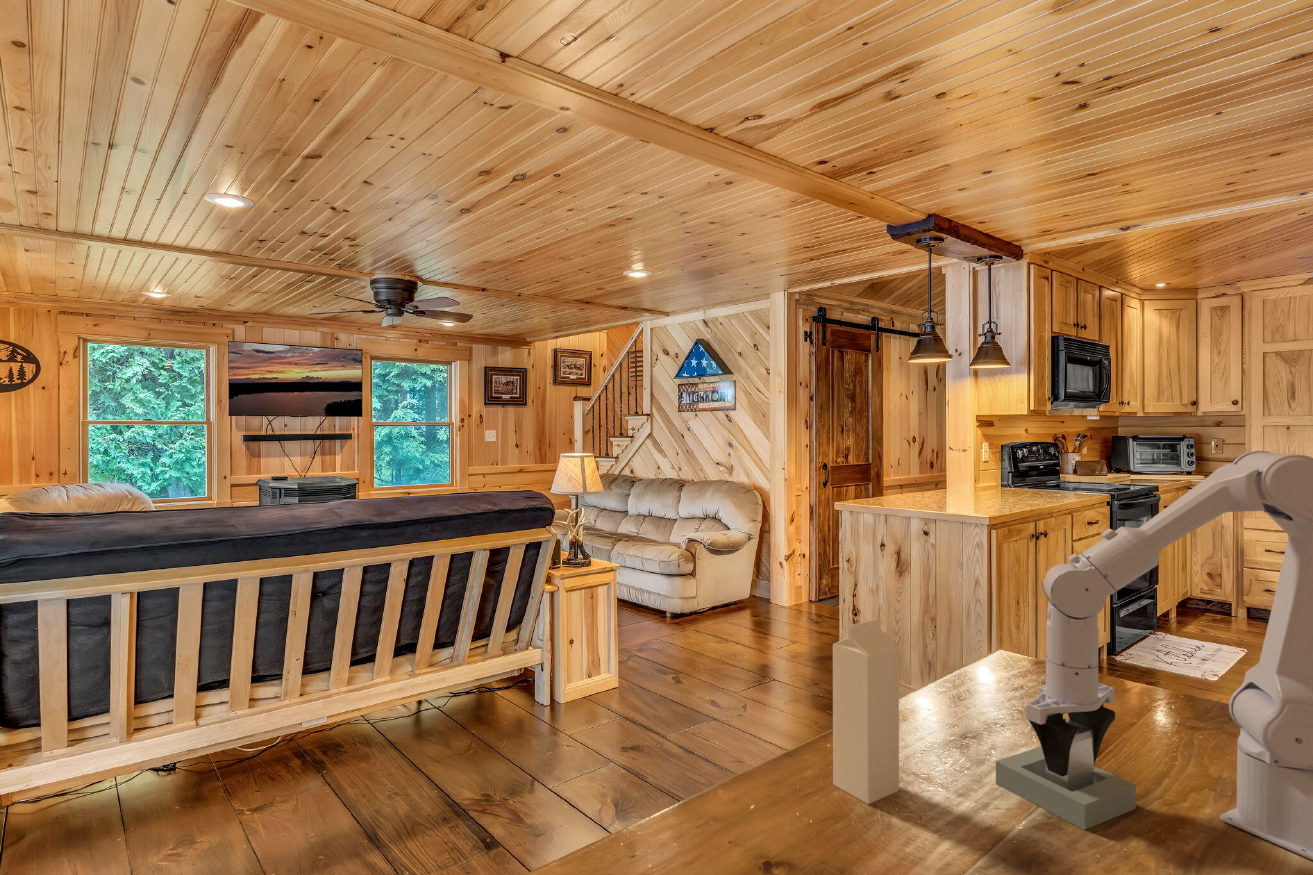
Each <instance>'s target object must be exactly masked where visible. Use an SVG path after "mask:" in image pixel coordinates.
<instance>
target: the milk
mask: <svg viewBox="0 0 1313 875" xmlns="http://www.w3.org/2000/svg"><path fill="white" fill-rule="evenodd" d="M899 648H900V647H898V645H897V644H896V643H895V642H894V641H893V640H892V639H891V638H890V637H889V636H888V635H887V634H886V633H885V632H884V630H882V620H881V618H874V619H872V620H871V619H870V620H867V621H862V622H859V623H854V624H851V625H850V626H849V637H846V638H844V639H841V640H839V641H837V642H835V643H833V644H832V760H833V761H832V765H833V766H832V768H833V770H832V775H833V776H832V777H833V778H832V780H833V782H832V784H833V786H835V787H837V788H838V789H840V790H843V791H844V792H846V793H847V794H848V795H851V796H852V797H853V798H856V799H858V800H860V801H861V802H863V803H865V804H867V805H870V804H873V803H874V802H877V801H879V800H881V799H883V798H886V797H888V796H890V795H894V794H895V793H897V792H899V791H900V728H899V727H900V649H899Z"/></svg>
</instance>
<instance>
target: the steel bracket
mask: <svg viewBox="0 0 1313 875" xmlns="http://www.w3.org/2000/svg"><path fill="white" fill-rule="evenodd" d="M1063 719H1066V722H1067V723H1069V724H1072V725H1074V726H1077V727H1079V729H1078V731H1077V733H1076V734H1075V736H1074V739H1073V742H1072V745H1071V749H1070V755H1069V765H1068V770H1067V773H1066V776H1060V775H1058V774H1056V773H1053V772H1051V771H1049V770H1048V769H1047V765H1046V779H1047V780H1049V781H1051V782H1053V783H1055V784H1057V785H1059V786H1061V787H1063V788H1065V789H1067V790H1069V791H1072V792H1073V791H1076V790H1079V789H1081V788H1084V787H1087V786H1089V785H1092V784H1094V767H1095V764H1094V729H1091V728H1089V727H1086V726H1084V725H1081V724H1078V723H1076V722H1073V721H1071V720H1070V719H1069V718H1066V717H1063ZM1030 726H1031V728H1030V731H1032V732H1035V730H1034V728H1033V726H1032V725H1031V724H1030Z"/></svg>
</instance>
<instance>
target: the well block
mask: <svg viewBox="0 0 1313 875" xmlns="http://www.w3.org/2000/svg"><path fill="white" fill-rule="evenodd" d="M995 784H996V785H998V786H1000V787H1001V788H1004V789H1006V790H1007V791H1009V792H1011V793H1013V794H1015V795H1017V796H1019V797H1021V798H1023V799H1024V800H1026V801H1029V802H1030V803H1032V804H1034V805H1035V806H1038V807H1039V808H1042V809H1044V810H1045V811H1048V812H1050V813H1051V814H1053V815H1055V816H1057V817H1059V818H1060V819H1062V820H1064V821H1066V822H1068V823H1071V824H1072V825H1073V826H1075V827H1078V828H1079V829H1082V830H1084V831H1086V830H1088V829H1091V828H1093V827H1095V826H1098V825H1101V824H1102V823H1105V822H1107V821H1109V820H1112V819H1115V818H1117V817H1119V816H1121V815H1124V814H1126V813H1129V812H1131V811H1133V810H1136V809H1137V808H1136V806H1137V804H1136V802H1137V796H1136V795H1137V785H1136V784H1135V783H1133V782H1130V781H1129V780H1126V779H1124V778H1121V777H1119V776H1117V775H1114V774H1112V773H1110V772H1108V771H1105V770H1103V769H1101V768H1099V767H1097V766H1094V784H1092V785H1089V786H1087V787H1084V788H1081V789H1079V790H1076V791H1073V792H1072V791H1069V790H1067V789H1065V788H1063V787H1061V786H1059V785H1057V784H1055V783H1053V782H1051V781H1049V780H1047V779H1046V761H1045V757H1044V754H1043V750H1042V747H1041V746H1038V747H1035V748H1032V749H1029V750H1026V751H1022V752H1019V753H1017V754H1014V755H1013V754H1012V755H1010V756H1007V757H1004V758H1001V759H998V760H995Z"/></svg>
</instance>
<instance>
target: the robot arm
mask: <svg viewBox="0 0 1313 875" xmlns="http://www.w3.org/2000/svg"><path fill="white" fill-rule="evenodd" d="M1261 511H1264V512H1265V513H1266V514H1267V515H1268V516H1269V517H1270V518H1271V519H1272V520H1273V521H1274V522H1275V523H1276V524H1277V525H1278V526H1279V527H1280V528H1281V529H1282V530H1283V531H1284V532H1285V533H1286V534H1287V537H1288V538H1287V542H1286V546H1285V552H1284V555H1283V559H1282V563H1281V566H1280V567H1281V568H1280V571H1279V572H1280V573H1279V576H1278V582H1277V585H1276V589H1275V594H1274V598H1273V602H1272V606H1271V609H1270V616H1269V619H1268V624H1267V627H1266V632H1265V636H1264V641H1263V645H1262V650H1261V652H1260V658H1259V661H1258V663H1257V664H1256V665H1254V666H1252V667H1251V668H1249V669H1248V670H1246V672H1245V675H1244V679H1243V682H1242V684H1241V685H1240V686H1239V688H1237V689H1236V690H1235V691H1234V692H1233V694H1232V695H1231V696H1230V699H1229V702H1228V708H1229V710H1228V711H1229V713H1230V716H1231V718H1232V720H1233V721H1234V722H1235V724H1237V726H1238V727H1240V730H1239V731H1240V733H1239V736H1238V738H1237V742H1236V743H1237V744H1236V745H1237V751H1236V753H1237V756H1236V758H1237V759H1236V761H1237V762H1236V763H1237V764H1236V806H1235V808H1232V809H1230V810H1228V811H1226V812H1223V813H1222V814H1220V815H1219V819H1220V820H1221V821H1222V822H1225V823H1228V824H1229V825H1231V826H1234V827H1235V828H1238V829H1241V830H1244V831H1245V832H1247V833H1250V834H1252V835H1255V836H1257V837H1259V838H1261V839H1263V840H1265V841H1266V840H1267V841H1268V842H1270V843H1273V844H1275V845H1278V846H1280V847H1282V848H1284V849H1287V850H1289V851H1291V852H1294V853H1295V854H1297V855H1300V856H1303V857H1305V858H1307V859H1310V860H1311V861H1313V457H1312V456H1308V455H1304V454H1294V453H1293V454H1283V453H1273V452H1270V451H1266V450H1253V451H1249V452H1246V453H1243V454H1241V455H1240V456H1237V458H1236V459H1235V460H1234V461H1233V462H1231V463H1226V464H1224V465H1223V466H1220V467H1218V468H1217V469H1215V470H1214V472H1212V473H1211V474H1210V475H1208V476H1207V477H1206V478H1204V480H1202V481H1201V482H1199V483H1198V484H1197V485H1195V486H1194V487H1193V488H1191V489H1190V490H1189V491H1187V492H1186V493H1185V494H1183V495H1181V496H1180V497H1179V498H1177V499H1176V500H1175V501H1173V502H1172V503H1171V504H1169V505H1168V506H1167V507H1166V508H1164V509H1163V510H1161V511H1160V512H1159V513H1157V514H1156V515H1154V516H1153V517H1152V518H1151V519H1149V520H1147V521H1146V522H1145V523H1143V524H1142V525H1141V526H1140V527H1131V526H1130V527H1129V526H1120V527H1118V528H1117V529H1116V530H1113V529H1111V528H1108V529H1106V530H1103V532H1101V534H1100V535H1101V537H1102V539H1101V540H1099V541H1098V542H1096V543H1095V544H1093V545H1091V546H1090V547H1088V548H1087V549H1085V550H1083V552H1081V553H1079V554H1078V555H1077V554H1076V553H1072V554H1071V555H1070V556H1068V561H1070V563H1069V562H1068V563H1067V562H1066V563H1059V564H1057V565H1056V564H1055V565H1054V566H1052V567H1051V568H1050V569H1048V571H1047V572H1046V573H1045V577H1044V579H1043V581H1042V582H1041V583H1040V585H1041V586H1040V587H1041V589H1042V592H1043V594H1044V596H1045V597H1046V598H1047V599H1048V601H1047V610H1046V615H1047V620H1046V623H1045V624H1046V625H1045V627H1046V628H1045V684H1043V685H1039V686H1038V692H1039V695H1038V696H1037V697H1036V698H1034V700H1032V701H1030V702H1027V703H1026V705H1025V709H1026V710H1025V712H1026V713H1025V714H1026V716H1025V719H1026V720H1028V722H1029V723H1030V726H1031V725H1032V726H1033V728H1034V730H1035V731H1034V732H1035V733H1036V736H1037V738H1038V741H1039V743H1040V747H1042V750H1043V754H1044V757H1045V761H1046V765H1047V769H1048V770H1049V771H1051V772H1053V773H1056V774H1058V775H1060V776H1066V773H1067V770H1068V765H1069V755H1070V749H1071V745H1072V742H1073V739H1074V736H1075V734H1076V733H1077V731H1078V729H1079V727H1077V726H1074V725H1072V724H1069V723H1067V722H1066V719H1067V718H1065V719H1063V718H1064V715H1066V714H1067V716H1068V720H1071V721H1073V722H1076V723H1078V724H1081V725H1084V726H1086V727H1089V728H1091V729H1094V765H1095V764H1096V761H1097V757H1098V755H1099V751H1100V748H1101V745H1102V741H1103V739H1104V737H1105V735H1106V733H1107V731H1108V729H1109V728H1110V726H1111V725H1112V724H1113V722H1114V721H1115V720H1116V712H1115V710H1112V709H1110V708H1107V707H1104V703H1105V704H1108V705H1109V704H1114V703H1115V687H1113V686H1109V685H1106V684H1103V683H1101V682H1100V683H1099V637H1100V636H1099V632H1100V631H1099V627H1098V623H1099V622H1098V619H1099V617H1098V615H1099V613H1101V612H1102V610H1103V609H1104V607H1105V606H1106V602H1107V599H1108V598H1107V597H1108V596H1111V595H1114V594H1115V593H1116V592H1118V591H1119V590H1121V589H1122V588H1124V587H1126V586H1127V585H1129V584H1131V583H1132V582H1134V581H1135V580H1137V579H1138V578H1140V577H1142V576H1143V575H1145V574H1146V573H1147V572H1149V571H1151V570H1152V569H1154V568H1156V567H1157V566H1158V565H1159V562H1160V556H1161V551H1162V550H1163V549H1164V548H1166V547H1168V546H1170V545H1171V544H1173V543H1174V542H1176V541H1178V540H1180V539H1181V538H1183V537H1185V536H1187V535H1189V534H1190V533H1192V532H1193V531H1195V530H1197V529H1199V528H1201V527H1203V525H1206V524H1207V523H1209V522H1211V521H1213V520H1214V519H1216V518H1218V517H1219V516H1221V515H1223V514H1226V513H1236V512H1237V513H1240V512H1242V513H1243V512H1261Z"/></svg>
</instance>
